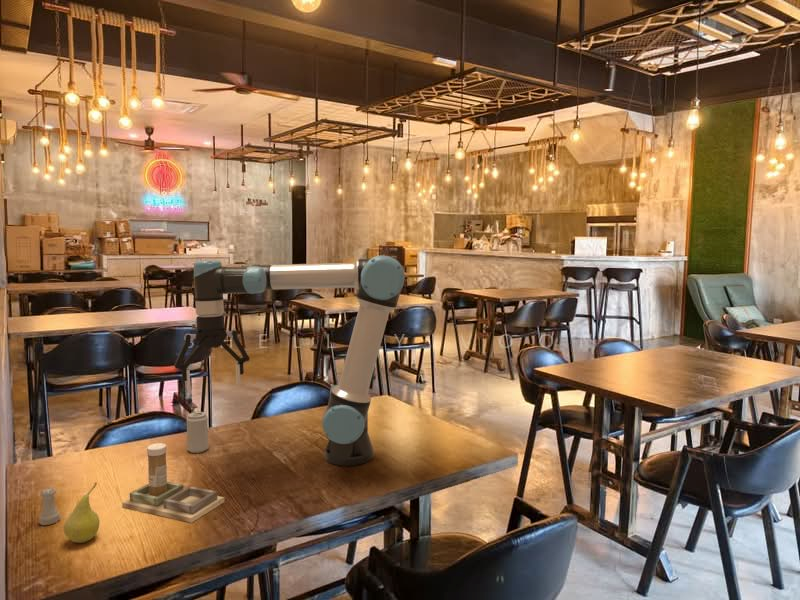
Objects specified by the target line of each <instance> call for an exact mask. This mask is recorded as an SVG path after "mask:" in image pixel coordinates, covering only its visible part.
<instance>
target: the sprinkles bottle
mask: <svg viewBox="0 0 800 600" xmlns="http://www.w3.org/2000/svg"><path fill="white" fill-rule="evenodd" d="M166 454H167V445H166V444H165V443H160V442H159V443H153V444H150V445H148V446H147V447H146V455H147V459H148V460H147V463H148V464H147V465H148V484H149V495H151V496H156V497H157V496H159V495H161V494H163V493H165V492H167V482H168V478H167V477H168V475H167V474H168V473H167V468H168V467H167V455H166Z"/></svg>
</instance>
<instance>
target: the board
mask: <svg viewBox="0 0 800 600" xmlns="http://www.w3.org/2000/svg"><path fill="white" fill-rule="evenodd" d="M225 502H226V500H225V496H219V495H218V491H215V490H212V489H206V488H200V487H196V486H193V485H192V486H191V485H189V486H187V487H185V488H184V484H181V483H175V482H170V481H167V492H165V493H163V494H161V495H159V496H157V497H156V496H151V495H149V483H147V484H144V485H143V486H141V487H139V488H137V489H134V490H133V491H130V492H129V498H128V499H127V500H125V501H123V502H121V503H122V505H121V508H125V509H130V510H133V511H138V512H142V513H145V514H146V513H147V514H151V515H155V516H156V515H157V516H159V517H165V518H168V519H174V520H178V521H182V522H185V523H191V524H193V523H194V522H195V521H197V520H198V519H200V518H201V517H203V516H205V515H206V514H208V513H209V512H211V511H213V510H215V508H217V507H219V506H220V505H221V504H224V503H225Z"/></svg>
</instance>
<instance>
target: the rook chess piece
mask: <svg viewBox="0 0 800 600" xmlns="http://www.w3.org/2000/svg"><path fill="white" fill-rule="evenodd" d="M56 493H57V491H56V490H55V488H54V486H53V487H51V486H49V487H48V488H47V487H44V488H43V489H41V493H40V494H39V495H40V497H41V498H42V499H41V502H42V507H41V509H42V510H41V512H40V514H39V516H38V519H39V520H38V524H40V525H41V526H51V525H53V524H56V523H58V522H59V521H60V519H61V513H60V511H59V510H58V508H57V507H56V503H55V501H56V497H55V494H56Z"/></svg>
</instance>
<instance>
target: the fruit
mask: <svg viewBox="0 0 800 600" xmlns="http://www.w3.org/2000/svg"><path fill="white" fill-rule="evenodd" d="M97 484H98V483H97V481H95V482H94V484H93V486H92V487H91V488H90V490H89V491H88V492H87V493H86V494H84V495H83V496H82V497H81V498H80V500H79V501H78V502H77V504H76V506H75V507H74V509H73V510H72V511H71V513H70V514H69V516H68V517H67V519H66V520H65V522H64V524H63V532H64V535H65V536H66V537H67V538H68V539H69V540H70V541H71V542H73V543H76V544H83V543H84V544H85V543H86V542H88V541H90V540H91V539H94V537H95V536H96V535H97V534H98V531H99V529H100V517H99V515H98V514H97V512H95V511H93V510H92V507H91V504H90V500H89V499H90V494H91V493H92V491H93V490H94V489H95V488H96V486H97Z"/></svg>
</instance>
